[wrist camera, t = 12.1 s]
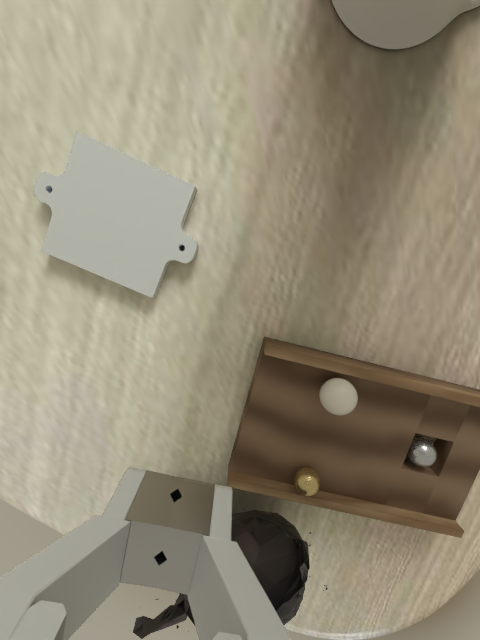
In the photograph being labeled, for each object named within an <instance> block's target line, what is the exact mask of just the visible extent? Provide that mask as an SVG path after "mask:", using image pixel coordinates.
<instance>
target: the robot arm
mask: <svg viewBox="0 0 480 640" xmlns="http://www.w3.org/2000/svg"><path fill="white" fill-rule="evenodd" d="M332 3H333V5H334V8H335V10H336V12H337V14H338V15H339V17H340V19H341V20H342V21H343V23H344V24H345V25H346V27H347V28H348V29H349V30H350V31H351V32H352V33H353V34H355V35H356V36H357V37H358V38H360V39H361V40H363V41H365V42H367V43H369V44H371V45H373V46H376V47H380V48H385V49H403V48H409V47H413V46H416V45H418V44H421V43H423V42H425V41H427V40H429V39H430V38H432V37H433V36H435V35H436V34H438V33H439V32H440V31H441V30H442V29H444V28H445V27H446V26H447V25H448V24H449V23H450V22H451V21H452V20H453V19H454V18H455V17H457V16H458V15H459V14H461V13H463V12H466V11H468V10H471V9H474V8H476V7H478V6H480V0H332ZM232 495H233V490H232V487H228V486H222V485H217V484H215V485H214V484H210V483H205V482H200V481H194V480H189V479H184V478H179V477H175V476H170V475H166V474H162V473H157V472H153V471H148V470H147V471H146V470H142V469H138V468H134V467H129V468H128V469H127V470H126V472H125V474H124V476H123V477H122V479H121V481H120V483H119V485H118V487H117V489H116V490H115V492H114V494H113V496H112V498H111V500H110V502H109V503H108V505H107V507H106V509H105V511H104V513H103V515H102V516H100V515H95V516H93V517H92V518H90V519H89V520H87V521H86V522H84V523H83V524H81V525H80V526H78V527H77V528H75V529H74V530H72V531H70V532H69V533H67V534H66V535H64V536H63V537H61V538H60V539H58V540H57V541H55V542H54V543H52V544H51V545H49V546H48V547H46V548H44V549H43V550H41V551H40V552H38V553H37V554H36V555H34V556H32V557H31V558H29V559H28V560H26V561H25V562H23V563H22V564H20V565H18V566H17V567H16V568H14V569H12V570H11V571H9V572H8V573H6V574H5V575H3V576H2V577H0V640H68V639H69V638H70V637H71V635H72V634H73V633H74V632H75V631H76V630H77V629H78V628H79V627H80V626H81V625H82V624H83V623H84V622H85V621H86V620H87V618H88V617H89V616H90V615H91V614H92V613H93V612H94V611H95V610H96V609H97V608H98V607H99V606H100V604H102V602H103V601H104V600H105V599H106V598H107V597H108V596H109V595H110V594H111V593H112V592H113V591H114V590H115V589H116V587H117V586H118V585H119V582H121V583H127V584H135V585H141V586H148V587H154V586H155V587H154V588H159V589H163V590H168V591H172V592H177V593H182V594H186V595H188V601H189V604H190V608H191V612H192V615H193V619H194V622H195V626H196V629H197V633H198V636H199V640H292V639H291V637H290V636H289V634H288V632H287V630H286V629H285V627H284V625H283V623H282V621H281V620H280V618H279V616H278V614H277V613H276V611H275V609H274V607H273V606H272V604H271V602H270V600H269V598H268V597H267V595H266V593H265V591H264V590H263V588H262V586H261V584H260V583H259V581H258V579H257V577H256V575H255V574H254V572H253V570H252V568H251V567H250V565H249V563H248V561H247V559H246V558H245V556H244V554H243V552H242V551H241V549H240V547H239V545H238V544H237V542H234V541H231V527H232Z"/></svg>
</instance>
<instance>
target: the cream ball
mask: <svg viewBox="0 0 480 640" xmlns="http://www.w3.org/2000/svg"><path fill="white" fill-rule="evenodd" d="M319 397H320V401H321V404H322V406H323V407H324V408H325V409H326V410H327V411H328V412H330V413H332V414H334V415H340V416H341V415H346V414H349V413H350V412H352V411H353V410H354V408H355V407H356V405H357V401H358V395H357V391H356V389H355V388H354V386H353V385H352V384H351V383H350V382H349V381H347V380H345V379H342V378H332V379H329V380H328V381H326V382H325V383H324V384H323V385H322V387H321V389H320V394H319Z"/></svg>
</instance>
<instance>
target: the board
mask: <svg viewBox="0 0 480 640" xmlns="http://www.w3.org/2000/svg"><path fill="white" fill-rule="evenodd" d="M332 378H342V379H345V380H347V381H349V382H350V383H351V384H352V385H353V386H354V388H355V389H356V391H357V395H358V401H357V405H356V407H355V408H354V410H353V411H352V412H350V413H349V414H346V415H341V416H340V415H334V414H332V413H330V412H328V411H327V410H326V409H325V408H324V407H323V406H322V404H321V401H320V397H319V394H320V389H321V387H322V385H323V384H324V383H325V382H326V381H328V380H329V379H332ZM415 433H418V434H422V435H426V436H430V437H434V438H437V439H436V442H435V444H434V447H435V449H436V451H437V459H436V461H435V462H434V464H432V465H431V466H427V467H421V466H418V465H416V464H414V463H413V462H411V461H410V460H409V459H405V458H406V455H407V453H408V450H409V448H410V446H411V443H412V441H413V438H414V436H415ZM304 467H307V468H311V469H312V470H314V471H315V472H316V473H317V475H318V477H319V480H320V487H319V490H318V491H317V493H316V494H314V495H312V496H304V495H302V494H301V493H300V492H298V490H297V489H296V487H295V484H294V477H295V474H296V472H297V471H298V470H299V469H301V468H304ZM479 469H480V390H477V389H473V388H469V387H465V386H461V385H457V384H453V383H449V382H445V381H441V380H437V379H433V378H429V377H425V376H421V375H417V374H413V373H409V372H405V371H401V370H397V369H392V368H388V367H384V366H380V365H376V364H372V363H368V362H364V361H360V360H356V359H352V358H348V357H344V356H340V355H336V354H332V353H328V352H324V351H320V350H316V349H312V348H308V347H304V346H299V345H295V344H291V343H287V342H283V341H279V340H275V339H271V338H267V337H264V339H263V343H262V347H261V350H260V354H259V357H258V361H257V364H256V368H255V372H254V375H253V379H252V382H251V386H250V390H249V393H248V397H247V400H246V404H245V407H244V411H243V415H242V418H241V422H240V425H239V429H238V433H237V436H236V440H235V443H234V447H233V450H232V454H231V458H230V461H229V469H228V487H232V488H236V489H241V490H245V491H250V492H254V493H259V494H263V495H268V496H272V497H277V498H282V499H286V500H291V501H295V502H300V503H304V504H309V505H314V506H318V507H323V508H327V509H332V510H336V511H341V512H346V513H350V514H355V515H359V516H364V517H368V518H373V519H378V520H382V521H387V522H391V523H396V524H400V525H405V526H410V527H414V528H419V529H423V530H428V531H432V532H437V533H442V534H446V535H451V536H455V537H460V538H461V537H462V535H463V533H464V530H463V529H462V528H461V527H460V526H459V524H458V523H457V522H456V521H455V520H456V518H457V516H458V514H459V512H460V510H461V508H462V506H463V503H464V501H465V499H466V497H467V495H468V493H469V491H470V488H471V486H472V484H473V482H474V480H475V478H476V476H477V474H478V471H479Z"/></svg>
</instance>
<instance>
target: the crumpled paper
mask: <svg viewBox="0 0 480 640" xmlns="http://www.w3.org/2000/svg"><path fill="white" fill-rule="evenodd" d="M244 509H245V508H244ZM294 526H295V525H292V524H291V523H290V522H289V521H288V520H286V519H285V518H283V517H282V516H281V515H279V514H278V513H274V512H270V513H269V512H263V511H256V510H253V511H248V512H243V513H238V514H233V515H232V527H231V541H234V542H237V544H238V545H239V547H240V549H241V551H242V552H243V554H244V556H245V558H246V559H247V561H248V563H249V565H250V567H251V568H252V570H253V572H254V574H255V575H256V577H257V579H258V581H259V583H260V584H261V586H262V588H263V590H264V591H265V593H266V595H267V597H268V598H269V600H270V602H271V604H272V606H273V607H274V609H275V611H276V613H277V614H278V616H279V618H280V620H281V621H282V623H283V625H285V624H286V623H287V622H288V621H290V620H291V619H292V618H293V617H294V616H295V615H296V612H297V611H298V609H299V606H300V603H301V601H302V599H303V593H304V590H305V583H306V581H307V575H308V570H309V555H308V544H307V542H305V541H303V540H302V538H301V537H300V535H299V533H298V531H297V529H296V528H295V527H294ZM310 534H311V532H310ZM309 546H310V545H309ZM309 577H310V576H309ZM324 586H325V585H324ZM326 587H327V586H326ZM326 590H327V588H326ZM323 591H324V590H323ZM179 594H180V595H179V597H178V599H177V600H176V603H175V605H171V606H169V607H168V608H167V609H165V610H164V611H163V612H162V613H161V614H160V615H158V616H157V617H156V618H155V619H150V618H147V617H145V616H142V617H139V618H136V622H135V626H134V630H133V633H135V634H136V635H137V636H139V637H140V638H141V639H142V638H144V637H145V636H147V635H148V634H150V633H153V632H155V631H159V630H161V629H164V628H166V627H169V626H172V625H174V624H177V623H179V622H182V621H184V620H186V618H187V615H188V617H189V618H190V619H191V621H192V622H193V624H194V625H195V622H194V619H193V615H192V612H191V608H190V604H189V601H188V595H186V594H182V593H179ZM178 627H179V626H178V625H177V628H178Z"/></svg>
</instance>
